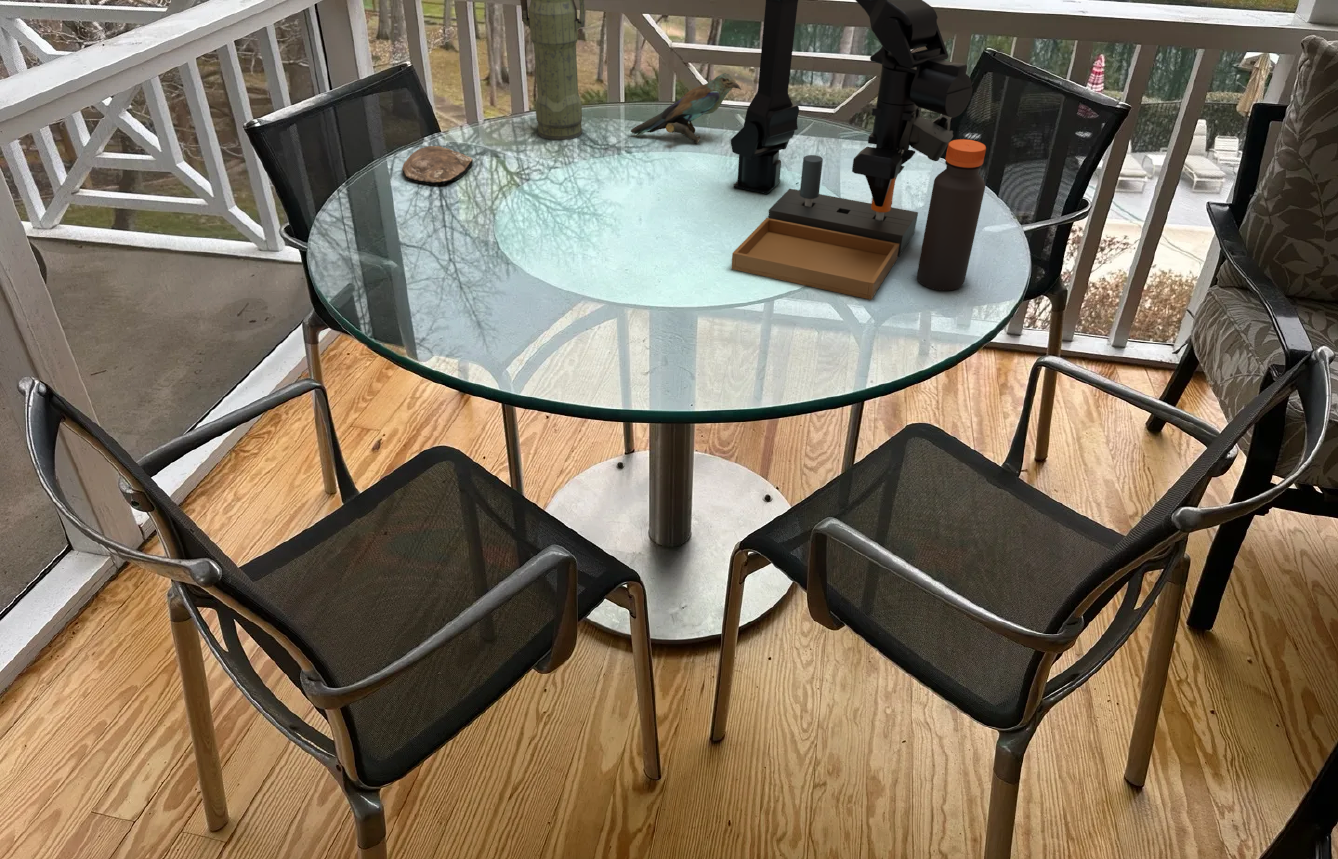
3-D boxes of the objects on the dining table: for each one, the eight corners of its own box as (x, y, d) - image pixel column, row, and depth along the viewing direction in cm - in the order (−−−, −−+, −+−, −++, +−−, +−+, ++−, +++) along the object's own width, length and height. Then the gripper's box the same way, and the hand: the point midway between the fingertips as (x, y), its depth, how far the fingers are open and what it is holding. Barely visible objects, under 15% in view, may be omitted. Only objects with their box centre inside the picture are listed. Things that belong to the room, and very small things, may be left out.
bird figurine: (624, 141, 180) (679, 50, 169) (633, 125, 188) (686, 38, 177) (682, 180, 182) (741, 93, 172) (688, 163, 190) (744, 79, 180)
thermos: (532, 124, 190) (517, -70, 169) (590, 125, 190) (583, -69, 169) (527, 139, 182) (511, -61, 162) (588, 140, 183) (579, -61, 162)
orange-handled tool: (864, 240, 147) (874, 172, 141) (869, 233, 149) (879, 165, 143) (883, 244, 146) (893, 175, 139) (888, 236, 148) (899, 169, 142)
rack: (899, 257, 142) (902, 235, 140) (767, 230, 150) (768, 209, 148) (914, 232, 150) (918, 211, 147) (787, 208, 157) (789, 188, 155)
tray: (731, 269, 139) (732, 252, 137) (765, 232, 149) (766, 217, 147) (871, 299, 131) (873, 283, 130) (896, 259, 142) (899, 243, 140)
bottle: (973, 288, 134) (1003, 151, 122) (930, 294, 133) (957, 156, 121) (948, 267, 140) (976, 134, 128) (907, 273, 138) (931, 138, 126)
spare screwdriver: (794, 226, 151) (800, 159, 144) (800, 219, 153) (807, 153, 147) (812, 229, 150) (819, 162, 143) (818, 222, 152) (825, 156, 146)
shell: (388, 180, 165) (385, 160, 163) (423, 155, 175) (420, 136, 173) (448, 187, 162) (445, 167, 160) (479, 162, 172) (477, 143, 170)
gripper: (939, 126, 125) (919, 235, 134) (967, 89, 139) (947, 190, 148) (858, 114, 129) (844, 220, 138) (893, 79, 143) (878, 178, 152)
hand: (881, 202), depth 144 cm, fingers closed on orange-handled tool, 3 cm apart
